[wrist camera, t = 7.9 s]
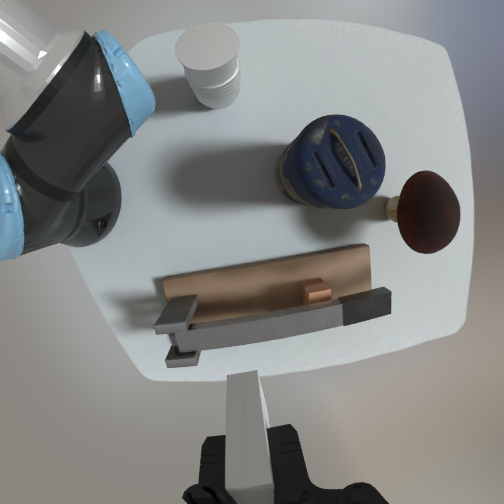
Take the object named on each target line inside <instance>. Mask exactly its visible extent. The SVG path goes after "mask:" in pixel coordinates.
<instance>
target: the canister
mask: <svg viewBox="0 0 504 504" xmlns="http://www.w3.org/2000/svg"><path fill="white" fill-rule="evenodd" d="M276 175H277V181H278V184H279V186H280V188H281V190H282V191H283V193H284V194H285V195H286V196H287V197H288V198H290V199H291V200H293V201H294V202H296V203H299V204H302V205H307V206H314V207H317V208H335V209H349V208H354V207H357V206H360V205H362V204H364V203H366V202H367V201H368V200H370V199H371V198H372V197H373V196H374V195H375V194H376V193H377V191H378V190H379V188H380V186H381V184H382V182H383V178H384V175H385V155H384V152H383V149H382V146H381V144H380V142H379V140H378V139H377V137H376V136H375V134H374V133H373V132H372V131H371V130H370V129H369V128H368V127H367V126H365V125H364V124H363V123H362V122H360V121H358V120H357V119H354V118H352V117H349V116H345V115H327V116H323V117H320V118H318V119H316V120H314V121H312V122H311V123H310V124H308V125H307V126H306V127H305V128H304V129H303V130H302V131H301V133H300V134H299V135H298V136H297V137H296V139H294V140H293V141H292V142H291V144H290V145H289V146H288V147H287V148H286V150H285V151H284V152H283V154H282V155H281V157H280V159H279V161H278V165H277V170H276Z"/></svg>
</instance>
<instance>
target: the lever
mask: <svg viewBox="0 0 504 504" xmlns="http://www.w3.org/2000/svg"><path fill="white" fill-rule="evenodd" d="M388 314H391V291H390V290H388V289H387V288H385V287H380V288H376V289H372V290H368V291H364V292H359V293H355V294H350V295H346V296H342V297H337V299H332V300H328V301H323V302H318V303H313V304H308V305H303V306H298V307H293V308H288V309H282V310H277V311H271V312H265V313H260V314H254V315H248V316H241V317H235V318H229V319H222V320H215V321H208V322H201V323H193V324H190V325H189V327H188V330H187V331H186V332H177V333H169V335H170V338H171V342H172V345H173V348H174V351H175V353H176V354H178V355H182V354H185V353H187V352H192V351H201V350H209V349H217V348H225V347H232V346H239V345H245V344H252V343H258V342H264V341H270V340H275V339H281V338H286V337H291V336H297V335H302V334H306V333H311V332H316V331H320V330H325V329H329V328H334V327H338V326H342V325H343V326H347V325H351V324H355V323H359V322H363V321H366V320H370V319H374V318H378V317H381V316H385V315H388Z"/></svg>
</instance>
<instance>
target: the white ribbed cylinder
mask: <svg viewBox="0 0 504 504" xmlns="http://www.w3.org/2000/svg"><path fill="white" fill-rule="evenodd" d="M238 49H239V39H238V37H237V34H236V33H235V32H234V31H233V29H231V28H230V27H228V26H226V25H224V24H221V23H215V22H208V23H201V24H198V25H195V26H193V27H191V28H189V29H188V30H186V31H185V32H184V33H183V34H182V35H181V36H180V37H179V39H178V41H177V43H176V46H175V53H176V57H177V59H178V61H179V62H180V63H181V64H182V65H183V66H184V68H185V69H184V73H185V76H186V79H187V80H188V83H189V85H190V86H191V89H192V90H193V92H194V93H195V96H196V98H197V99H198V101H199V102H201V103H202V104H204V105H205V106H207V107H209V108H212V109H222V108H225V107H227V106H229V105H231V104H232V103H233V102H234V100H235V99H236V97H237V95H238V94H239V90H240V61H239V58H238V56H237V52H238Z"/></svg>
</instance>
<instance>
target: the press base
mask: <svg viewBox="0 0 504 504" xmlns="http://www.w3.org/2000/svg"><path fill="white" fill-rule="evenodd" d="M162 284H163V288H164V292H165V296H166V300H167V304H168V305H167V306H166V308H165V309H164V311H163V312H162V314H161V315H160V317H159V318H158V320H157V321H156V323H155V324H154V329H155V333H156V335H158V334H168V333H177V332H186V331H187V330H188V327H189V325H190V324H193V323H201V322H208V321H215V320H222V319H229V318H235V317H241V316H248V315H254V314H260V313H265V312H271V311H277V310H282V309H288V308H293V307H298V306H303V305H308V304H313V303H318V302H323V301H328V300H332V299H337V297H342V296H346V295H350V294H355V293H359V292H364V291H368V290H372V289H371V266H370V250H369V245H366V244H359V245H353V246H348V247H342V248H336V249H331V250H325V251H319V252H313V253H308V254H302V255H296V256H290V257H284V258H278V259H273V260H267V261H261V262H255V263H249V264H243V265H237V266H231V267H225V268H219V269H212V270H206V271H200V272H194V273H188V274H181V275H175V276H169V277H165V278H164V279H163V280H162ZM200 352H201V351H192V352H187V353H185V354H182V355H178V354H176V353H175V351H174V348H173V345H172V346H171V348H170V350H169V352H168V355H167V357H166V359H165V362H166V365H167V368H176V367H189V366H197V364H198V360H199V356H200Z"/></svg>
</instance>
